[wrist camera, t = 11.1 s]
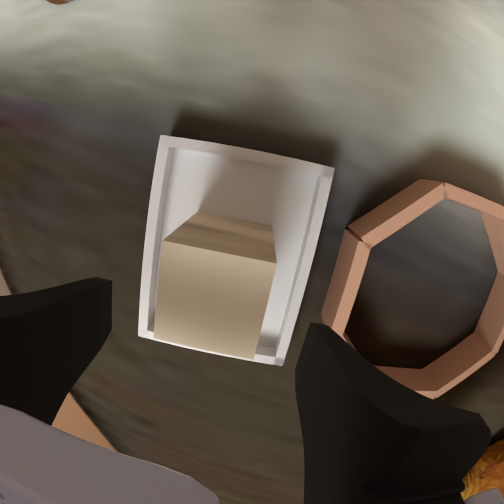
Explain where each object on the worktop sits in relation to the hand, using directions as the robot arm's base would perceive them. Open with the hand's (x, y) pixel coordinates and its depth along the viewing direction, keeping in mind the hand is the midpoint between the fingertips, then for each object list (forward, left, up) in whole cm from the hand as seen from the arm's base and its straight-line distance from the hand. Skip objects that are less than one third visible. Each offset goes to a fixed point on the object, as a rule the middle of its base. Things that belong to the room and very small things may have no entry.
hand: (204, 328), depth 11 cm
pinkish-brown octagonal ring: (0, -14, -9) cm, 17 cm away
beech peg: (0, 0, -9) cm, 9 cm away
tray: (0, 0, -9) cm, 9 cm away
